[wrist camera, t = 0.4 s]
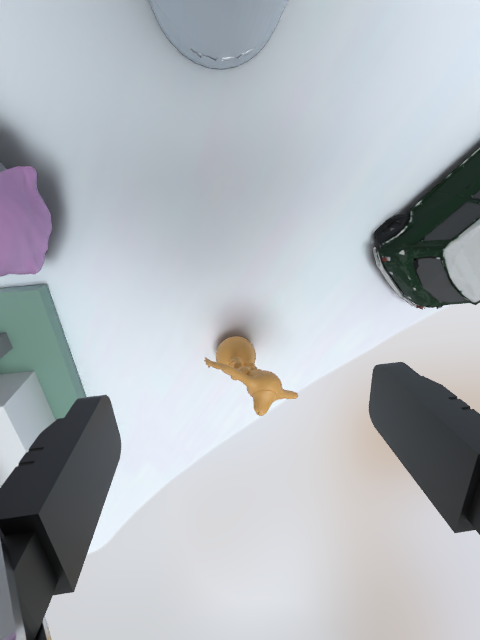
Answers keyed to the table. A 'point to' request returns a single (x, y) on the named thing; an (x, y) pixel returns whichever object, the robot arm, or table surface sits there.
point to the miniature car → (437, 243)
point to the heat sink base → (31, 371)
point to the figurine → (249, 373)
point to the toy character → (22, 222)
